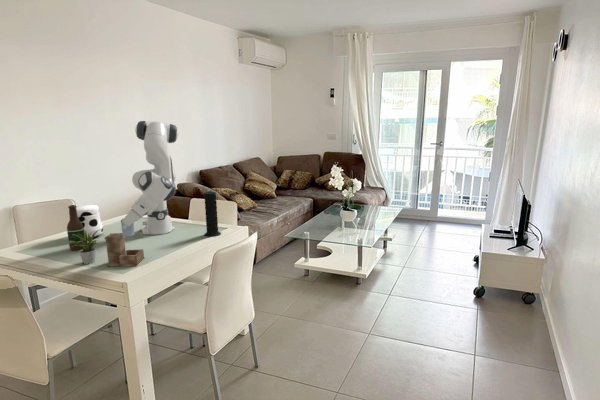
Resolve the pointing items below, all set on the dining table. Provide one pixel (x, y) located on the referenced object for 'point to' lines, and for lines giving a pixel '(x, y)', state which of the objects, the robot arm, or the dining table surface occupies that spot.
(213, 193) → the handle grip
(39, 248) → the dining table surface
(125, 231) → the rail end
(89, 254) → the house plant
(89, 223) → the milk container
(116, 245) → the brown l-shaped block
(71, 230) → the beer bottle
